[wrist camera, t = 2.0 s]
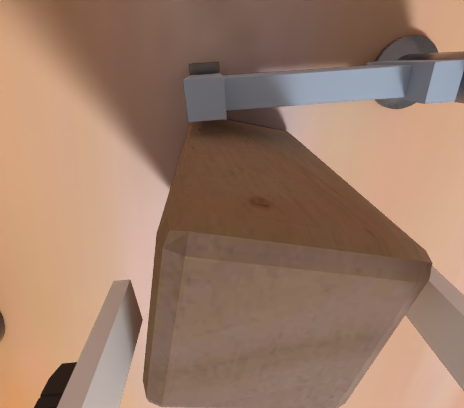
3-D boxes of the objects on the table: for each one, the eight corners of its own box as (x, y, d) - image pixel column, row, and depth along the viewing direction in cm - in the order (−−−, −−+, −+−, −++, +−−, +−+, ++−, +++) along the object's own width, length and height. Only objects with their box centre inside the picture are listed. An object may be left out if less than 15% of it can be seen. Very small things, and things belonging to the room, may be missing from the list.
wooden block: (192, 111, 25) (153, 223, 8) (293, 131, 27) (458, 262, 9) (179, 205, 30) (136, 417, 12) (267, 217, 31) (345, 421, 14)
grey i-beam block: (194, 103, 24) (188, 122, 17) (189, 63, 23) (180, 64, 16) (381, 90, 25) (454, 101, 18) (388, 50, 24) (471, 44, 16)
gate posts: (271, 236, 32) (298, 311, 23) (397, 22, 23) (534, -7, 14) (313, 250, 34) (355, 326, 24) (448, 55, 25) (603, 50, 15)
